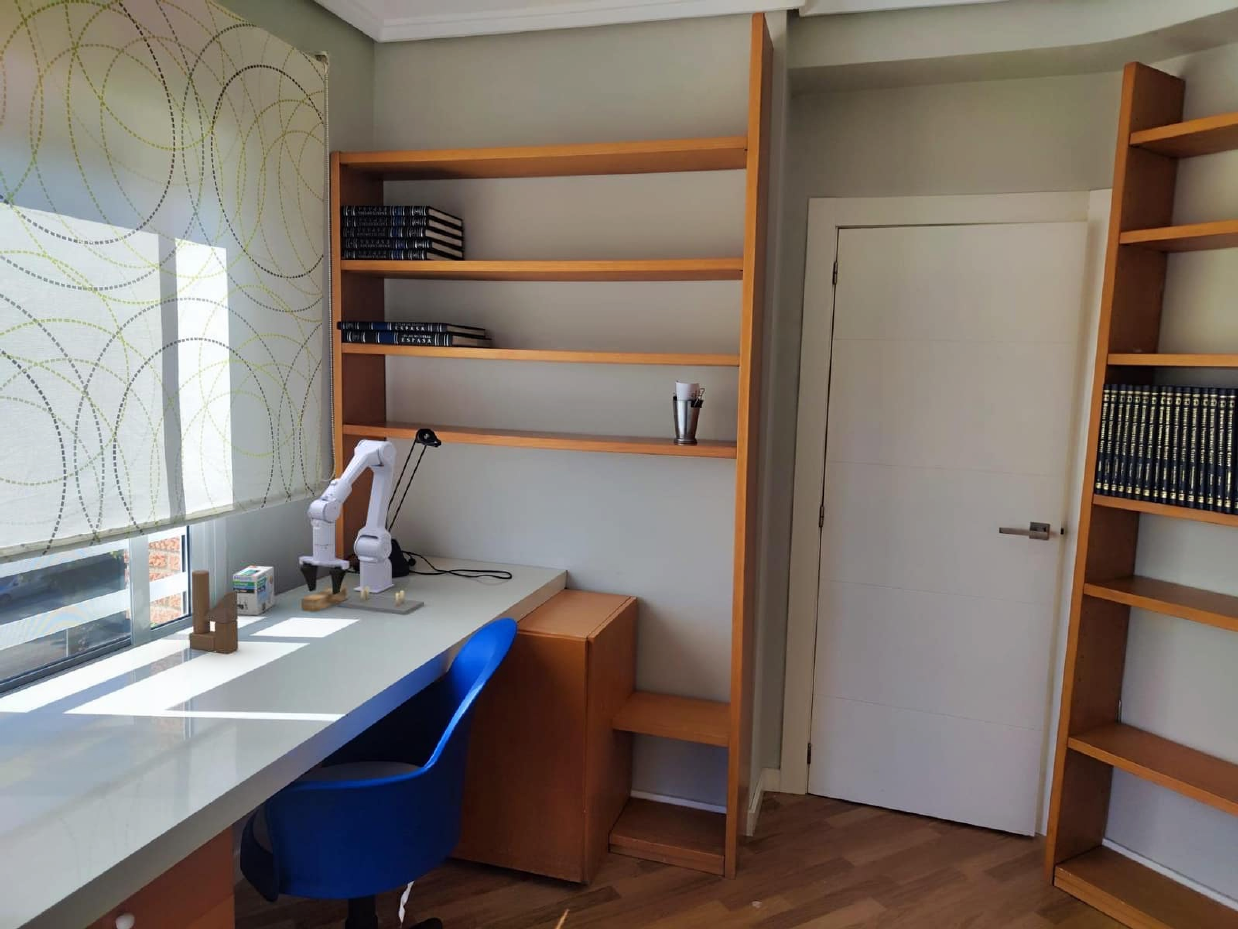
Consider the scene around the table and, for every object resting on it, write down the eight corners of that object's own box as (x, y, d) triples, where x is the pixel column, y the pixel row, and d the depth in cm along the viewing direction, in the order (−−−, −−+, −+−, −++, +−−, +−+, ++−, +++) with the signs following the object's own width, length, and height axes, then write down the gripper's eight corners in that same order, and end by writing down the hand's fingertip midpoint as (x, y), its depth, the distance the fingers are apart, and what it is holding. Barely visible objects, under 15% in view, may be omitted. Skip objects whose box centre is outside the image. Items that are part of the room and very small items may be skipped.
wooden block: (227, 654, 193) (225, 577, 191) (189, 648, 196) (187, 572, 194) (239, 649, 196) (237, 573, 194) (201, 643, 199) (199, 568, 197)
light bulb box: (258, 616, 222) (257, 575, 221) (232, 615, 222) (231, 574, 221) (275, 604, 233) (274, 566, 231) (250, 603, 233) (250, 565, 232)
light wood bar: (334, 598, 241) (334, 586, 241) (346, 600, 240) (346, 588, 240) (301, 611, 228) (301, 598, 228) (314, 613, 227) (314, 600, 226)
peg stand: (361, 597, 242) (361, 582, 242) (423, 605, 236) (423, 589, 236) (340, 606, 233) (340, 590, 232) (404, 614, 227) (404, 598, 226)
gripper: (292, 543, 230) (292, 592, 232) (338, 548, 226) (338, 598, 228) (308, 539, 237) (308, 586, 238) (353, 543, 233) (353, 592, 234)
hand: (324, 592), depth 233 cm, fingers open, 7 cm apart
